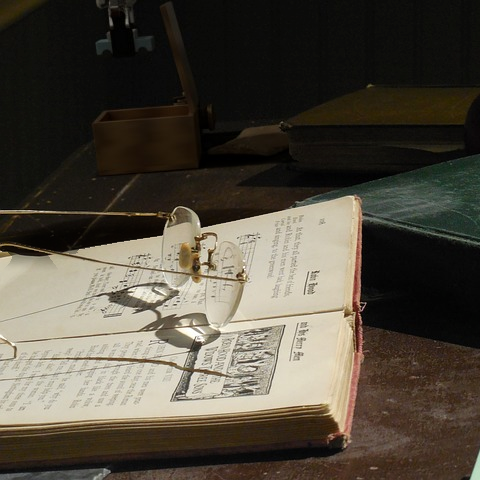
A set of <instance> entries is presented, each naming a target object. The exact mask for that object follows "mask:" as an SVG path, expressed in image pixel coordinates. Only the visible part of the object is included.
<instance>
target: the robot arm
mask: <svg viewBox="0 0 480 480" xmlns="http://www.w3.org/2000/svg"><path fill="white" fill-rule="evenodd" d="M95 3H96V6H97V8H99V9H100V10H103V9H105V8H107V11H108V13H107V14H108V20H109V21H108V22H109V31H110V37H111V45H112V53H113V56H112V57H113V58H114V59H121V58H122V59H123V58H133V57H135V56H136V54H138V52H135V46H134V38H133V30H132V29H137V30H138V28H137V27H138V26H137V25H136V19H135V13H134V4H136V3H137V0H95Z"/></svg>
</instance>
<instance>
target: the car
mask: <svg viewBox="0 0 480 480" xmlns="http://www.w3.org/2000/svg"><path fill="white" fill-rule="evenodd" d="M132 30H133V38H134V46H135V52H138V53H137V54H138V56H140V57H142V58H143V57H146V56H147V55H148V54H149V53H150V52H153V51H154V49H155V48H156V46H155V45H156V44H155V43H156V42H155V36H154V35H146V36H145V35H144V36H139V34H138V28H137V29H132ZM95 48H96V55H97V56H101V57H102V58H103V59H104V60H110V59H111V58H112V57H113V53H112V45H111V37H110V30H109V31H107V32H106V38H105V39H99V40H98V41H96V42H95Z"/></svg>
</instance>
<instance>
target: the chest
mask: <svg viewBox="0 0 480 480" xmlns="http://www.w3.org/2000/svg"><path fill="white" fill-rule="evenodd" d="M91 125H92V126H91V127H92V134H93V140H94V148H95V154H96V163H97V169H98V170H97V171H98V176H99V177H103V176H114V175H127V174H139V173H141V174H142V173H152V172H153V173H154V172H164V171H177V170H179V171H180V170H189V169H190V170H191V169H199V167H200V163H201V159H202V154H203V150H202V148H201V144H202V138H201V137H200V127H199V118H198V108H196V111H195V112H192V113H190V111H189V108H188V105H175V106H174V105H162V106H150V107H138V108H137V107H135V108H122V109H111V110H110V109H109V110H103V111H102V112H101V113H100V114H99V115H98V116H97V117H96V119H94V121H93V122H92V123H91Z"/></svg>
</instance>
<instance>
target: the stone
mask: <svg viewBox="0 0 480 480" xmlns="http://www.w3.org/2000/svg"><path fill="white" fill-rule="evenodd" d="M289 148H290V147H289V141H288V136H287V133H286V132H283V131H281V129H280V128H279V124H273V125H261V126H255V127H254V126H252V127H246V128H245V129H243V130H242V131H241V132H240V133H239V135H237V136H236V137H235V138H234V139H233V138H232V139H230V140H229V141H227V142H225V143H223V144H221V145H217V146H214V147H213V146H212V148H210V149H208V150H207V151H206V153H207V154H208V155H210V156H212V155H214V156H216V155H229V154H230V155H253V156H263V157H270V156H273V155H277V154H278V153H282V152H283V151H287V150H288V149H289Z"/></svg>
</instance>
